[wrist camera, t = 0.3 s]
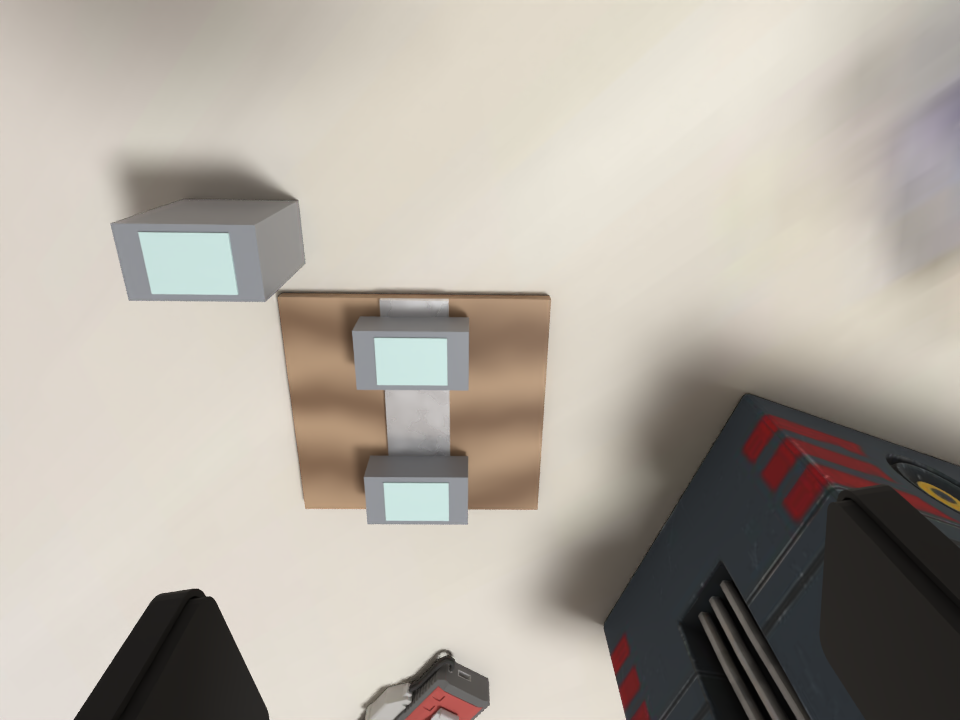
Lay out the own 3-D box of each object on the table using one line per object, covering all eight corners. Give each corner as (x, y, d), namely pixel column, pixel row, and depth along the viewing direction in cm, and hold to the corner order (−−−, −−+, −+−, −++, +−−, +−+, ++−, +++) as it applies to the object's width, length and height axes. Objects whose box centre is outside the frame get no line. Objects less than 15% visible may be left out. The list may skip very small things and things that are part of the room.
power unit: (600, 624, 58) (715, 1098, 30) (743, 389, 47) (1115, 786, 20) (840, 689, 62) (1133, 1157, 34) (1020, 485, 51) (1645, 924, 24)
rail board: (281, 293, 44) (260, 313, 39) (549, 295, 44) (557, 316, 40) (308, 501, 51) (293, 537, 47) (536, 502, 52) (541, 538, 47)
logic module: (183, 199, 41) (109, 223, 33) (298, 200, 41) (253, 225, 33) (195, 262, 43) (127, 301, 34) (305, 263, 43) (264, 302, 34)
